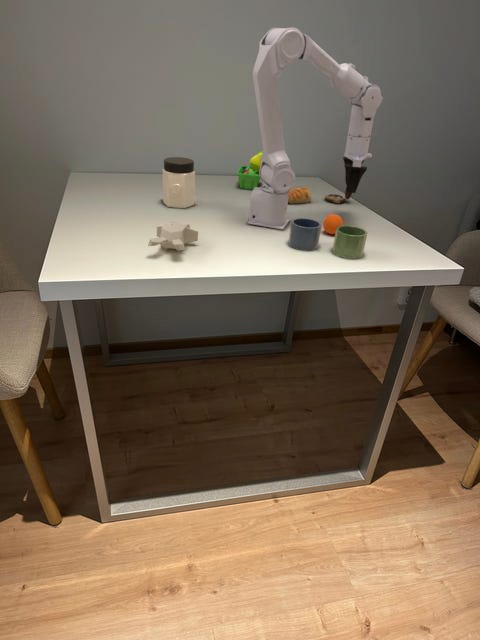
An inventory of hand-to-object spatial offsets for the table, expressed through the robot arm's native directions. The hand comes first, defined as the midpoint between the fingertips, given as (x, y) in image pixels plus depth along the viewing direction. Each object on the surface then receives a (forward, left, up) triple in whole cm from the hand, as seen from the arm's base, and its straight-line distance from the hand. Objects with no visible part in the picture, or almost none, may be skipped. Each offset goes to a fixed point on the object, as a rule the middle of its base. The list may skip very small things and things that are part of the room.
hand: (350, 188), depth 126 cm
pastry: (-16, +11, -9) cm, 21 cm away
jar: (-46, -10, -9) cm, 48 cm away
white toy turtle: (-34, -40, -9) cm, 53 cm away
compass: (-4, +17, -9) cm, 20 cm away
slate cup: (-7, -24, -9) cm, 27 cm away
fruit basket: (-33, +20, -9) cm, 40 cm away
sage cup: (+3, -24, -9) cm, 26 cm away
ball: (-2, -13, -6) cm, 15 cm away
